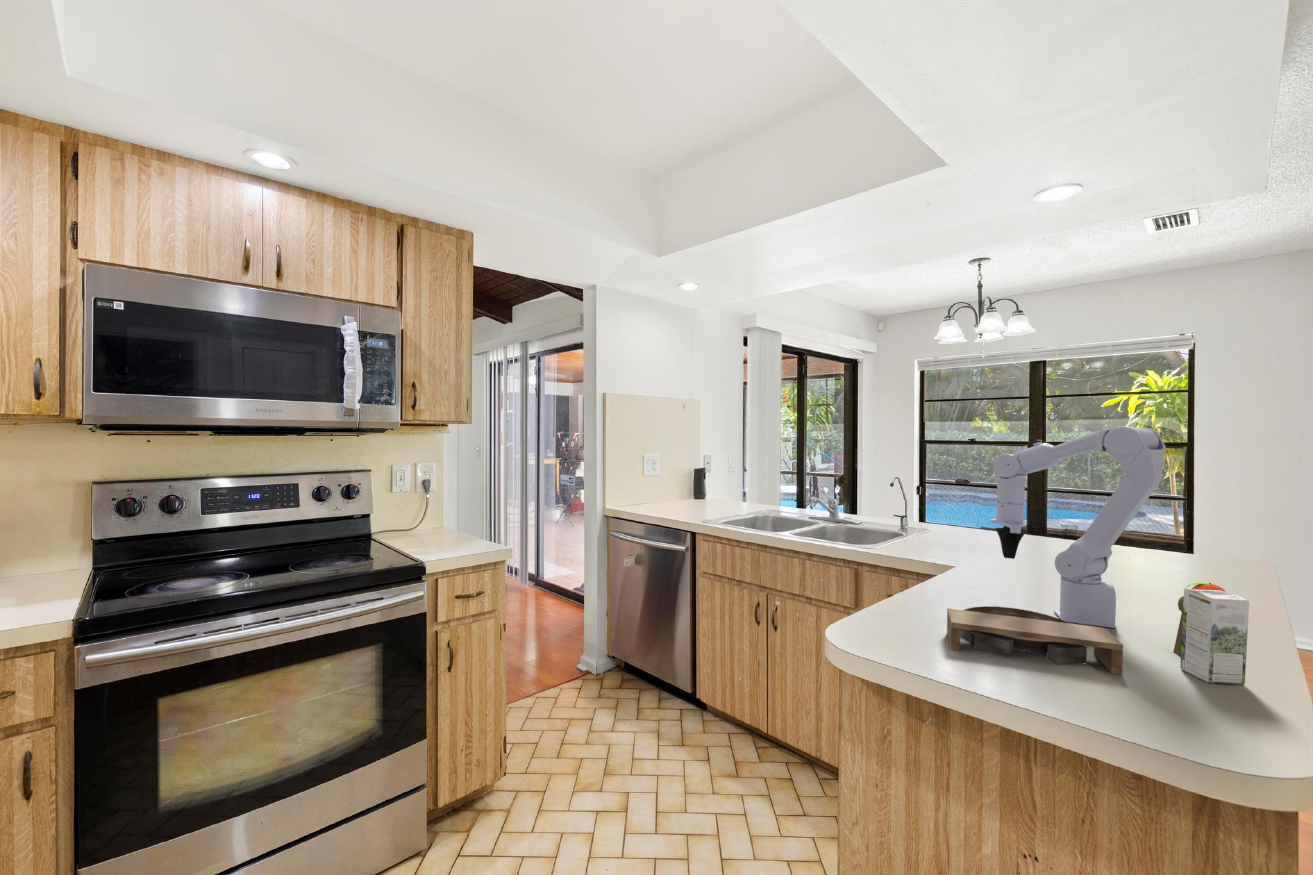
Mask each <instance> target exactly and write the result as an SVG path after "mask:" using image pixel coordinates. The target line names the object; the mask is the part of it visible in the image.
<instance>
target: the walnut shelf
mask: <svg viewBox="0 0 1313 875" xmlns="http://www.w3.org/2000/svg"><path fill="white" fill-rule="evenodd" d="M946 611H947V616H946V618H947V619H946V636H947V639H948V643H949V647H950V650H951V651H961V630H966V631H969V630H974V631H975V632H974V634H973V648H974V649H979V650H982V651H985V652H988V653H991V654H995V655H999V656H1001V657H1005V658H1007V659H1008V658H1011V657H1013V655H1014V649H1013V639H1011V638H1007V637H1004V636H1000V635H997V634H1003V635H1011V636H1018V637H1025V638H1033V639H1040V640H1047V641H1055V642H1062V643H1058V644H1048V647H1047V652H1046V653H1047V655H1046V659H1047V660H1046V661H1047V662H1049V663H1052V664H1053V663H1054V664H1053V665H1055V666H1065V665H1084V664H1083V663H1087V662H1088V660H1087V657H1088V656H1087V655H1088V647H1093V655H1094V654H1095V655H1094V656H1095V657H1096V658H1097V659H1098V661H1099V662H1100V661H1101V662H1102V663H1103V664H1102V663H1101V662H1100V663H1101V664H1102V665H1103V666H1104V668H1106V669H1107V670H1108V672H1109V671H1110V672H1111V673H1110V672H1109V673H1110V674H1113V675H1118V674H1119V675H1120V676H1122V675H1123V661H1124V660H1123V655H1124V645H1123V643H1122V642H1120V640H1118V638H1116V637H1115V635H1113V634H1112V633H1111V632H1110V631H1109V630H1107V629H1106V627H1102V626H1094V625H1086V624H1078V623H1070V622H1068V623H1061V622H1053V621H1045V620H1037V619H1029V618H1021V617H1013V616H1005V615H997V614H989V613H981V612H973V611H965V610H964V609H956V608H955V609H954V608H947V610H946ZM1069 623H1070V624H1069ZM993 633H996V634H993ZM1119 675H1118V676H1119Z"/></svg>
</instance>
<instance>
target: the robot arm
mask: <svg viewBox="0 0 1313 875" xmlns="http://www.w3.org/2000/svg"><path fill="white" fill-rule="evenodd" d="M1166 448H1167V446H1166V445H1165V443H1164V441H1163V438H1162V437H1161V435H1160V434H1159V433H1158V432H1157V431H1156V430H1154V429H1153V428H1150V427H1146V426H1145V427H1144V426H1143V427H1142V426H1140V427H1139V426H1138V427H1129V426H1117V427H1114V428H1112V429H1111V428H1108V429H1102V430H1099V431H1095V432H1092V433H1089V434H1085V435H1084V436H1080V437H1077V438H1074V439H1071V440H1067V441H1065V442H1062V443H1059V444H1057V445H1053V444H1051V443H1048V442H1040V441H1038V442H1035V443H1033V446H1031V447H1028V448H1025V449H1014V451H1013V454H1012V453H1001V454H1000V455H998V456H996V457H995V458H994V460H993V462H992V470H993V472H994V473H995V474H996V475H997V477H996V478H997V480H996V481H997V482H996V484H997V486H996V489H997V490H996V518H990V522H991V523H993V524H999V525H1001V526H1002V527H995V528H994V529H995V531H996V533H997V535H998V537H999V541H1000V545H1001V550H1002V556H1003V557H1004V559H1012V560H1013V559H1015V558H1016V555H1017V552H1018V547H1019V544H1020V542H1021V540H1022V539H1023V537H1024V535H1025V533H1026V532H1025V531H1024V530H1023V529H1022V528H1023V527H1024V526H1025V525H1026V524H1025V523H1026V522H1025V520H1024V519H1025V494H1026V493H1025V492H1026V490H1025V487H1026V484H1025V482H1026V478H1027V476H1028V474H1031V473H1035V472H1040V471H1044V470H1047V469H1050V468H1054V467H1057V466H1058V465H1059V463H1060V461H1061V460H1062V459H1068V458H1071V457H1075V456H1079V455H1081V454H1082V455H1084V454H1088V453H1091V452H1095V451H1099V452H1102V453H1103V452H1107V453H1108V454H1109V455H1110V456H1111V457H1112V458H1113V459H1114V460H1115V462H1117V464H1118V465H1120V468H1121V470H1122V471H1123V474H1124V477H1123V479H1122V480H1121V482H1120V483H1119V484H1118V486H1117V487H1116V489H1115V490H1114V492H1113V493H1112V495H1110V497H1109V499H1108V500H1107V502H1105V504H1104V506H1103V507H1102V508H1101V509H1100V510H1099V513H1098V514H1096V517H1095V518H1094V519H1093V521H1092V522H1091V524H1090V525H1089V527H1088V528H1087V529H1086V531H1085V532H1084V533H1083V535H1082V536H1081V537H1080V538H1077V540H1075V541H1074V542H1072V543H1071V544H1070V546H1069V547H1068V548H1067V549H1066V550H1063V551H1061V552H1059V553H1058V554H1057V555H1056V556H1055V559H1054V567H1055V569H1056V571H1057V573H1058V574H1059V575H1060V586H1059V587H1060V589H1059V594H1060V595H1059V609H1056V608H1055V609H1053V612H1054V613H1055V614H1056V615H1057V617H1058V619H1061V620H1064V621H1066V622H1068V623H1070V624H1077V625H1085V626H1094V627H1102V628H1110V629H1111V628H1112V629H1117V625H1116V612H1117V611H1116V609H1117V607H1116V606H1117V596H1116V594H1117V593H1116V589H1115V587H1114V585H1113V584H1112V583H1110V582H1106V581H1102V575H1103V574H1105V573H1106V571H1107V570H1108V567H1109V559H1110V557H1111V556H1112V555H1113V551H1112V547H1113V545H1114V544H1115V543H1116V541H1117V540H1118V539H1119V538H1120V536H1121V535H1122V533H1123V532H1124V531H1125V530H1126V528H1127V527H1128V525H1129V524H1130V523H1131V521H1132V520H1133V519H1134V518H1135V517H1136V515H1137V514H1138V512H1139V511H1140V510H1141V509H1142V507H1143V506H1144V505H1145V503H1146V502H1147V500H1148V499H1149V498H1150V496H1151V495H1152V494H1153V492H1154V491H1155V490H1156V489H1157V487H1158V486H1159V484H1160V483H1161V482H1162V480H1163V476H1164V474H1163V473H1164V472H1163V469H1164V468H1163V466H1164V463H1163V462H1164V461H1163V460H1164V459H1163V458H1164V456H1163V455H1164V452H1165V450H1166Z"/></svg>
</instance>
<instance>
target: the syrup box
mask: <svg viewBox="0 0 1313 875" xmlns="http://www.w3.org/2000/svg"><path fill="white" fill-rule="evenodd" d="M1184 589H1185V588H1184ZM1184 589H1183V596H1184V601H1183V624H1182V645H1181V656H1180V666H1179V668H1180V669H1181V670H1182V671H1184V672H1186V673H1187V674H1191V675H1192V676H1194V677H1195V678H1198V679H1199V680H1202V681H1204V682H1206V683H1207V684H1220V685H1221V684H1222V685H1223V684H1224V685H1238V686H1239V685H1242V686H1244V685H1245V684H1246V669H1247V668H1246V667H1247V651H1248V650H1247V649H1248V635H1249V634H1248V632H1249V631H1248V630H1249V613H1250V601H1248V599H1246V598H1243V597H1241V596H1239V595H1237V594H1233V593H1231V592H1227V591H1226V592H1224V591H1219V590H1195V589H1192V588H1190V589H1188V588H1186V589H1185V590H1184Z"/></svg>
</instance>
